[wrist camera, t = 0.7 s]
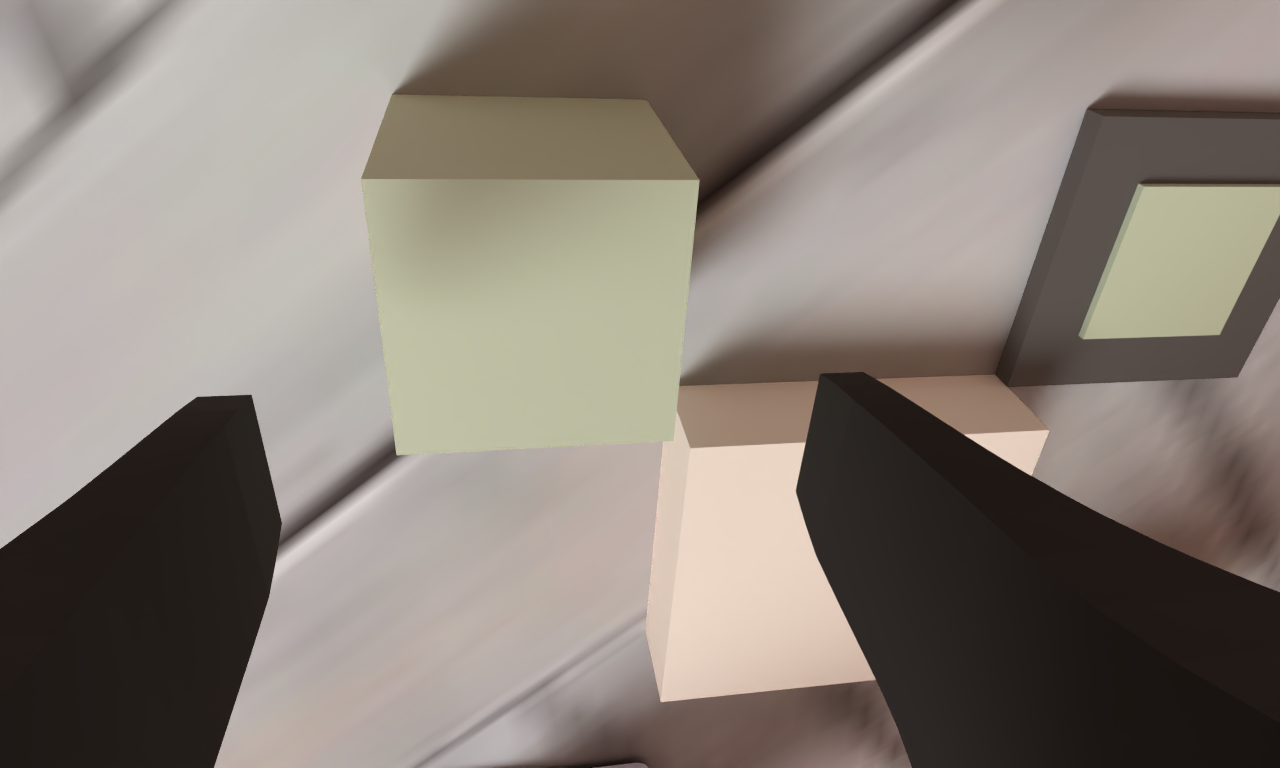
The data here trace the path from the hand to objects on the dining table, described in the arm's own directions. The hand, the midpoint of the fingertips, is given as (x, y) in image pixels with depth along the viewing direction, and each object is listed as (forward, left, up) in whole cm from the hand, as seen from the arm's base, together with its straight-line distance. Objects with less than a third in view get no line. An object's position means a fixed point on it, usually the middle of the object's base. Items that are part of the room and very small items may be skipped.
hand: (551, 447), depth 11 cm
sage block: (0, 0, -8) cm, 8 cm away
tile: (-1, -16, -8) cm, 18 cm away
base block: (-9, -8, -9) cm, 15 cm away
